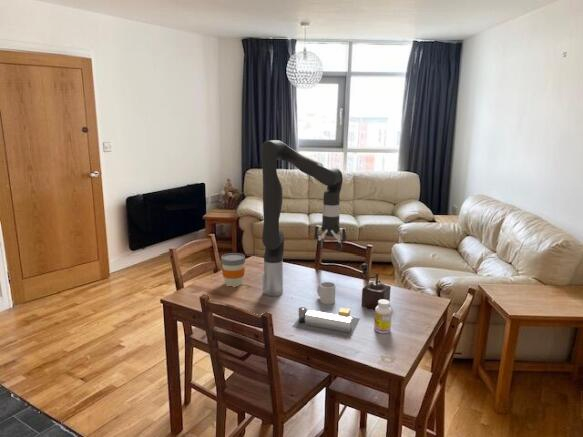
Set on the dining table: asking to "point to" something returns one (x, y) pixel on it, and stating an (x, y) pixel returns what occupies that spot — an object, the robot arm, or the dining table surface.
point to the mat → (328, 331)
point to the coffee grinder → (373, 291)
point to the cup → (326, 292)
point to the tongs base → (323, 321)
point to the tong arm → (331, 316)
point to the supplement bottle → (383, 316)
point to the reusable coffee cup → (233, 268)
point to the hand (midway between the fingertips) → (330, 249)
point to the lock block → (344, 312)
